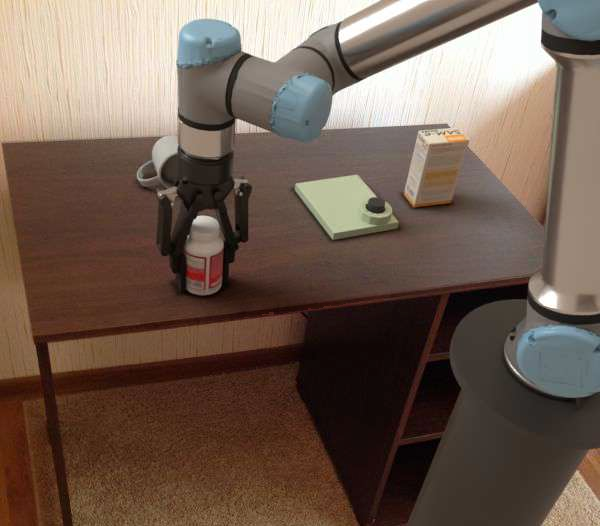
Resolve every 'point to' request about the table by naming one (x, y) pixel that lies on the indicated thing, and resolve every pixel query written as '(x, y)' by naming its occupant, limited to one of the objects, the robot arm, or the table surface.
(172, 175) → the ceramic mug
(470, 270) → the table surface
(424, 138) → the supplement box
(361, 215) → the scale
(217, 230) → the pill bottle
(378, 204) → the button
